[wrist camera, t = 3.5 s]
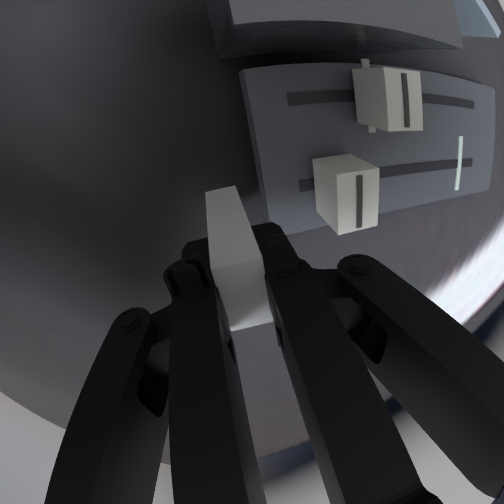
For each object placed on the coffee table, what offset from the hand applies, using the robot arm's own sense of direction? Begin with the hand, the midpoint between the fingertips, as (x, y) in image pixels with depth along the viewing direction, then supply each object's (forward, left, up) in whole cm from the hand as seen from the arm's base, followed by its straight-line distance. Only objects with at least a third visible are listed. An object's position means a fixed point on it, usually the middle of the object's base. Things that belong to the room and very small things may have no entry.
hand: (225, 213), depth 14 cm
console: (+13, +2, -3) cm, 14 cm away
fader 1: (+6, 0, -1) cm, 6 cm away
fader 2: (+9, +5, -1) cm, 11 cm away
